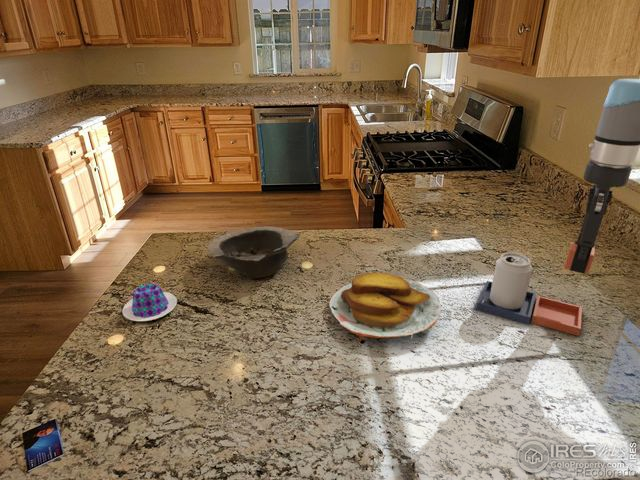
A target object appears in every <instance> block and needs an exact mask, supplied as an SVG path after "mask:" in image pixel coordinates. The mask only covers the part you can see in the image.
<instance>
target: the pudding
mask: <svg viewBox="0 0 640 480" xmlns="http://www.w3.org/2000/svg"><path fill="white" fill-rule="evenodd" d="M177 304H178V299H177V297H176V295H174V294H172V293H170V292H167V291H163V289H162V287H161V286H159V285H158V284H157V283H145V284H142V285H139V286H137V287H136V289H135V290H133V292H132V298H131V299H130V300H128V301H127V302H126V303H125V304H124V306H123V308H122V315H123V316H124V318H126V320H130V321H133V322H148V321H152V320H157V319H160V318H162V317H164V316H166V315H168V314H169V313H171V312H172V311H173V310H174V309H175V307H176V306H177Z"/></svg>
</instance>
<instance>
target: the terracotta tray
mask: <svg viewBox="0 0 640 480" xmlns="http://www.w3.org/2000/svg"><path fill="white" fill-rule="evenodd" d="M534 304H535V305H534V307H533V308H534V309H533V311H532V312H533V313H532V317H531V321H530V322H531V324H534V325H538V326H542V327H545V328H549V329H553V330H557V331H560V332H563V333H567V334H570V335H574V336H577V337H579V336H580V333H581V330H582V318H583V306H579V305H577V304H572V303H570V302H569V303H568V302H565V301H561V300H556V299H554V298H553V299H552V298H549V297H545V296H541V295H537V297H536V300H535V303H534Z"/></svg>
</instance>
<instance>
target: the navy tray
mask: <svg viewBox="0 0 640 480" xmlns="http://www.w3.org/2000/svg"><path fill="white" fill-rule="evenodd" d="M492 282H493V281H490V280H486V282H485V284H484V287H483V289H482V291H481V294H480V295H479V298H478V300H477V302H476V307H475V310H476V311H479V312H483V313H487V314H490V315H494V316H497V317H501V318H505V319H508V320H510V321H514V322H517V323H522V324H525V325H529V324H530V322H531V321H530V320H531V318H532V317H531V316H532V314H533V313H532V312H533V308H534V304H535V301H536V300H535V299H536V295H537V293H536V292H533V291H530V290H527V293H526V297H525V302H524V305H523V306H522V307H521V308H519V309H516V310H506V309H503V308H499V307H497V306H496V305H495V304H494V303H493V302H492V301H491V300H490V292H491V287H492Z"/></svg>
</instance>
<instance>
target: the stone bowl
mask: <svg viewBox="0 0 640 480" xmlns="http://www.w3.org/2000/svg"><path fill="white" fill-rule="evenodd" d="M300 236H301V233H300V232H299V233H297V232H296V233H294V231H293V230H290V229H286V228H282V227H277V226H267V225H264V226H254V227H253V226H252V227H247V228H243V229H238V230H237V229H236V230H233V231H228V232H227V233H225V234H221V235H219V236H216V237H215V238H213V239H212V240H211V241H210V242H209V243H208V244H207V245H206V250H207V252H208V253H209V254H210V255H211V257H213V258H217V259H221V261H222V262H223V263H224V264H225V265H226V266H227V267H229V268H230V269H233V270H234V271H236V272H237V273H240V274H245V277H246V278H247V280H256V279H262V278H267V277H269V276H271V275H272V274H276V273H278V272H279V271H280V270H282V267H283V264H284V263H286V261H287V259H288V251H287V249H288V248H289V247H291V245H292V244H294V243H295V242H297V240H298V239H299V238H300Z"/></svg>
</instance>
